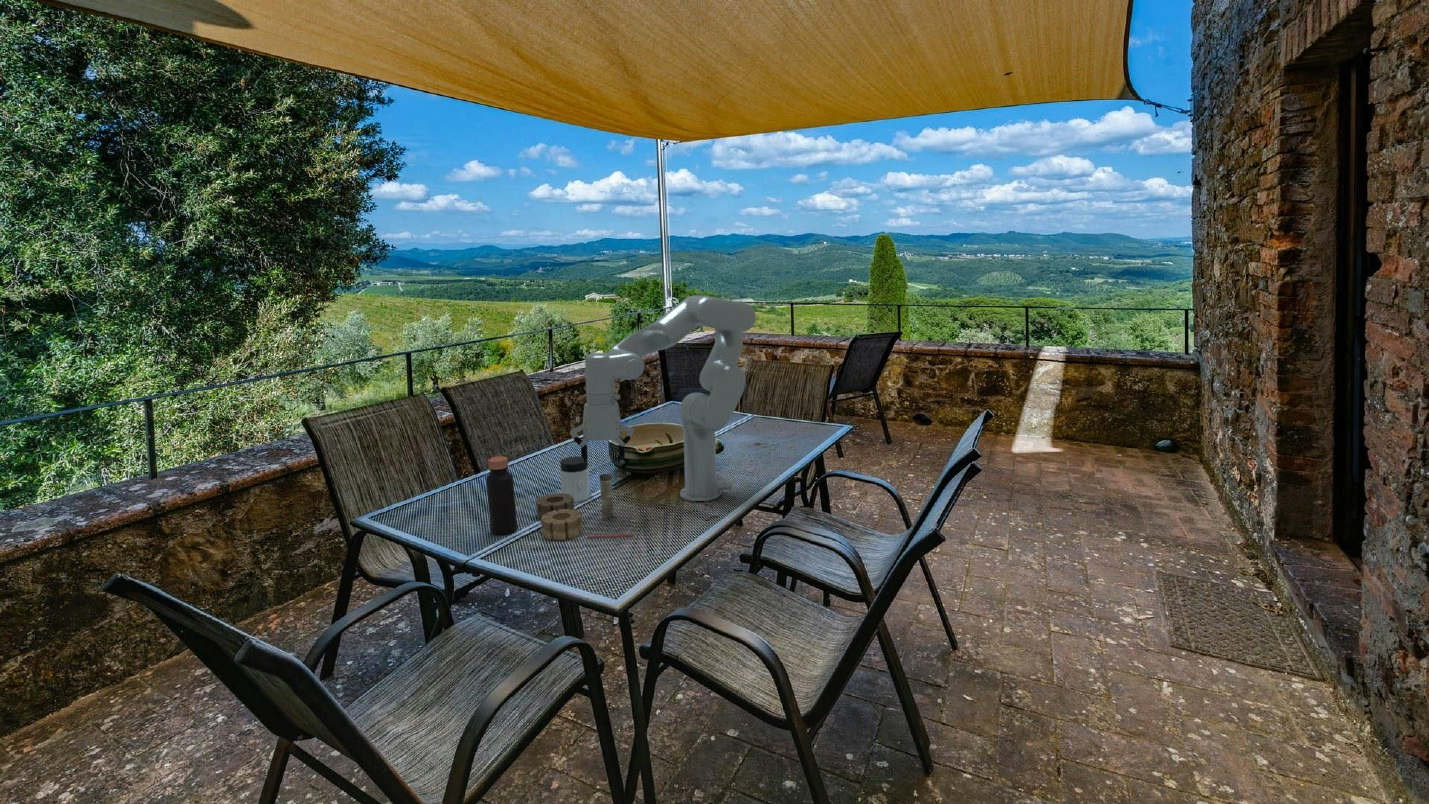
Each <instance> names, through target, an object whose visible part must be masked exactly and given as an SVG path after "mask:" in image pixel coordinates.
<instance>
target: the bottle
mask: <svg viewBox="0 0 1429 804" xmlns="http://www.w3.org/2000/svg"><path fill="white" fill-rule="evenodd" d="M487 463H488V470H489V471H490V473H489V474H488V476H486V478H485V483H486V492H487V503H488V514H489V524H490V532H491V533H492V534H493V533H494V534H493V535H496V534H497V536H503V535H502V534H504V535H508V533H509V534H512V533H514V532H515V531H516V530H517V529H518V520H517V518H518V517H517V509H516V499H515V498H516V497H515V487H514V485H515V484H514V476H513V474H512V473H511V472H510V471H508V469H509V459H508V457H507V456H494V457H490V458H488V459H487Z"/></svg>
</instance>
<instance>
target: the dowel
mask: <svg viewBox="0 0 1429 804" xmlns="http://www.w3.org/2000/svg"><path fill="white" fill-rule="evenodd" d="M599 487H600V490H599V491H600V502H601V506H600V507H601V518H603V519H611V518H613V517H614V499H613V482H612V474H610V473H603V474H600V475H599Z"/></svg>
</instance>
